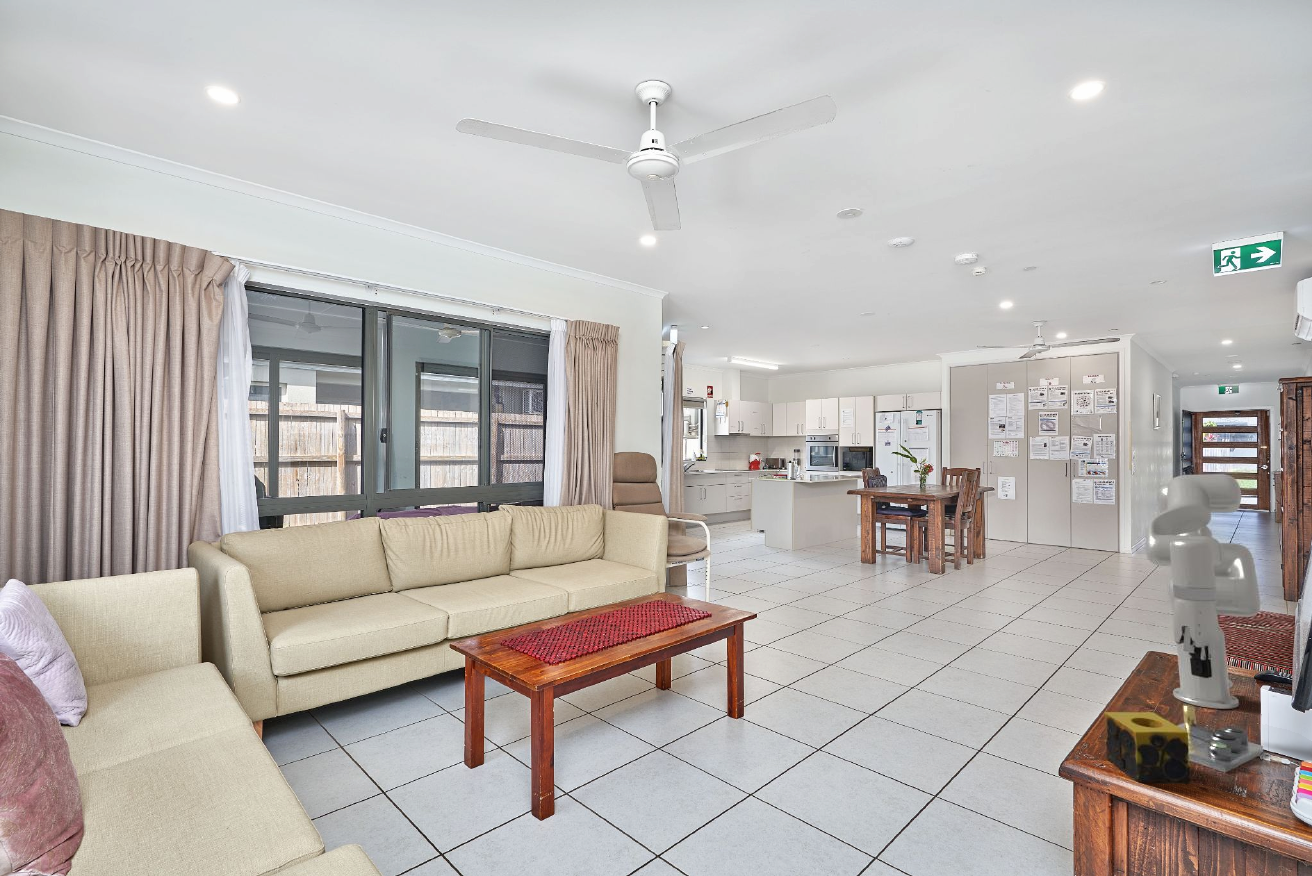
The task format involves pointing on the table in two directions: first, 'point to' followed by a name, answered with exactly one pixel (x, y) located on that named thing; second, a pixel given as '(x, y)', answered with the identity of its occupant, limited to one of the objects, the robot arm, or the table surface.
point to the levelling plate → (1215, 764)
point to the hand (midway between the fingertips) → (1201, 676)
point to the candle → (1147, 747)
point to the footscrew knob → (1209, 731)
